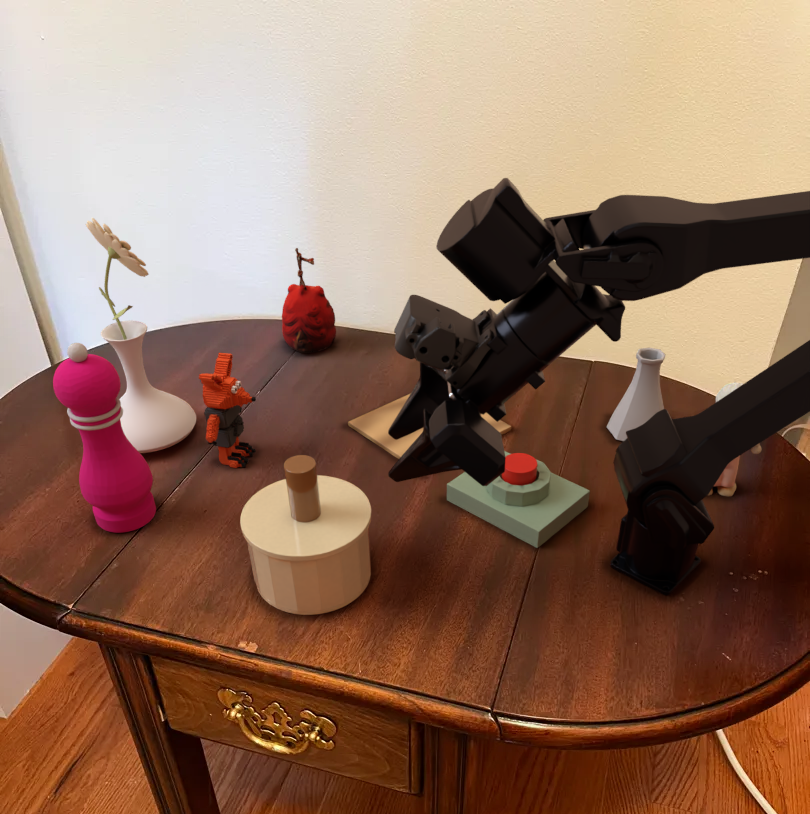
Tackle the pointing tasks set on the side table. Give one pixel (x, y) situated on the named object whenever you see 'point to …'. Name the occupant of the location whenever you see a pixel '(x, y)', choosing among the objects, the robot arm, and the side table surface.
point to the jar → (313, 579)
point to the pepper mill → (104, 443)
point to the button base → (522, 503)
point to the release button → (520, 469)
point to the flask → (639, 395)
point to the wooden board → (382, 419)
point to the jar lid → (305, 514)
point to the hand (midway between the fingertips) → (391, 456)
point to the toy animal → (225, 412)
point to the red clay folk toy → (307, 315)
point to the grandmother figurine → (728, 476)
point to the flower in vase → (140, 367)
